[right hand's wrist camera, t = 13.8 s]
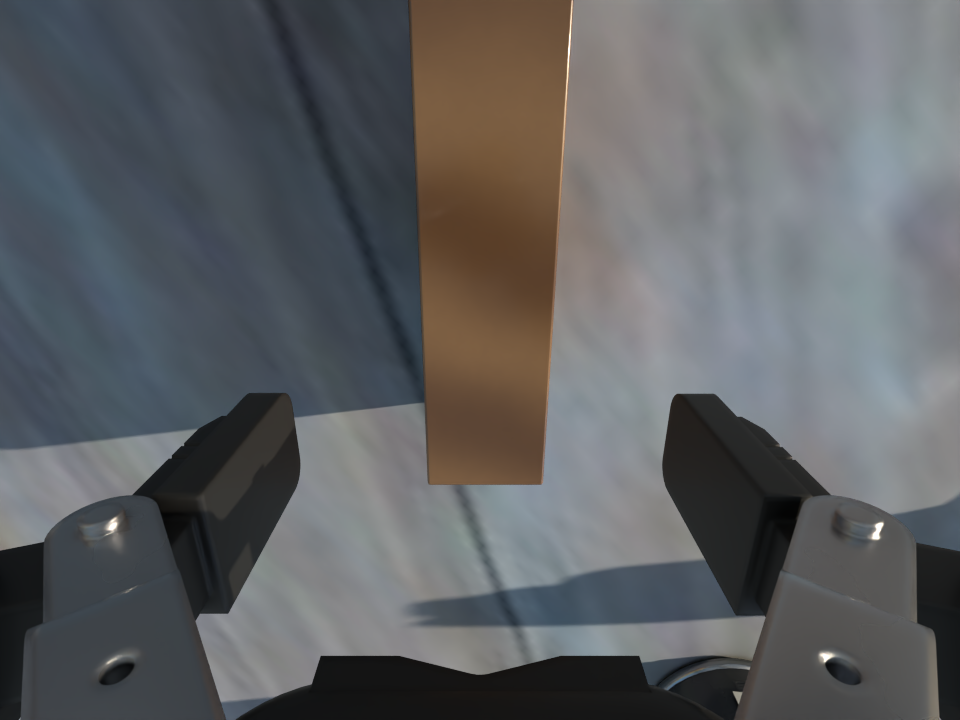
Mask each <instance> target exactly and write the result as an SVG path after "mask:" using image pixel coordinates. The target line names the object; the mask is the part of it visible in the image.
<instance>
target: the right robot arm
mask: <svg viewBox="0 0 960 720" xmlns="http://www.w3.org/2000/svg"><path fill="white" fill-rule="evenodd" d="M662 469H663V478H664V482H665V486H666V488H667V490H668V492H669V494H670V496H671V498H672V500H673V501H674V503H675V505H676V507H677V509H678V511H679V512H680V514H681V516H682V518H683V520H684V521H685V523H686V525H687V527H688V529H689V531H690V532H691V534H692V536H693V538H694V540H695V542H696V543H697V545H698V547H699V549H700V551H701V553H702V554H703V556H704V558H705V560H706V562H707V563H708V565H709V567H710V569H711V571H712V573H713V574H714V576H715V578H716V580H717V582H718V584H719V585H720V587H721V589H722V591H723V593H724V595H725V596H726V598H727V600H728V602H729V604H730V605H731V607H732V609H733V611H734V613H735V615H765V617H766V619H765V622H764V625H763V628H762V631H761V635H760V638H759V641H758V644H757V647H756V651H755V654H754V657H753V660H752V661H748V660H743V659H736V658H720V659H711V660H706V661H701V662H698V663H694V664H692V665H689V666H686V667H684V668H682V669H680V670H678V671H676V672H675V673H673V674H671V675H670V676H669V677H667V678H666V679H665V680H664V681H663V682H661V683H660V684H659V686H658V687H656V686H652V685H649V684H648V683H647V679H646V676H645V673H644V670H643V667H642V663H641V660H640V657H639V656H559V657H555V658H551V659H547V660H543V661H539V662H535V663H531V664H527V665H523V666H519V667H515V668H510V669H506V670H502V671H498V672H494V673H490V674H485V675H475V674H470V673H466V672H462V671H458V670H454V669H450V668H445V667H441V666H437V665H433V664H429V663H425V662H421V661H417V660H413V659H409V658H405V657H401V656H321V657H320V660H319V663H318V667H317V670H316V673H315V676H314V679H313V683H312V684H311V685H308V686H304V687H300V688H298V689H295V690H292V691H289V692H287V693H284V694H281V695H279V696H277V697H275V698H273V699H271V700H268V701H266V702H264V703H262V704H260V705H259V706H257V707H255V708H253V709H252V710H250V711H248V712H247V713H245V714H243V715H242V716H240V717H239V718H237V719H236V720H939V717H940V718H941V720H960V551H955V550H950V549H945V548H940V547H934V546H929V545H924V544H919V543H916V541H915V538H914V536H913V534H912V533H911V532H910V530H909V529H908V528H907V527H906V526H905V525H904V524H903V523H902V522H900V521H899V520H898V519H896V518H895V517H893V516H892V515H890V514H888V513H887V512H885V511H883V510H881V509H879V508H877V507H875V506H872V505H870V504H867V503H864V502H862V501H858V500H855V499H851V498H846V497H841V496H833V495H830V494H829V493H828V492H827V491H826V490H825V489H824V488H823V487H822V486H821V485H820V484H819V483H818V482H817V481H816V480H815V479H814V478H813V477H812V476H811V475H810V474H809V473H808V472H807V471H806V470H805V469H804V468H803V467H802V466H801V465H800V464H799V463H798V462H797V461H796V460H792V456H791V455H790V454H789V453H788V452H787V451H786V450H785V449H784V448H783V447H780V446H779V443H778V442H777V441H776V440H775V439H774V438H773V437H772V436H771V435H770V434H769V433H768V432H767V431H766V430H765V429H763V428H761V427H759V426H757V425H755V424H754V423H752V422H750V421H748V420H746V419H745V418H743V417H737V416H736V415H735V414H734V413H733V412H732V411H731V410H730V409H729V408H728V407H727V406H726V405H725V404H724V403H723V402H722V401H721V400H720V398H719V397H718V396H716V395H715V394H676V395H675V396H674V398H673V400H672V403H671V407H670V414H669V421H668V427H667V434H666V441H665V447H664V454H663V463H662ZM299 475H300V455H299V448H298V441H297V434H296V428H295V421H294V414H293V407H292V402H291V399H290V397H289V395H288V394H286V393H249V394H247V395H246V396H245V397H244V398H243V399H242V400H241V401H240V402H239V403H238V404H237V405H236V406H235V407H234V408H233V410H232V411H231V412H230V413H229V414H228V415H227V416H221V417H219V418H217V419H215V420H214V421H212V422H210V423H208V424H206V425H205V426H203V427H201V428H199V429H198V430H197V431H196V432H195V433H194V434H193V435H192V436H191V437H190V438H189V439H188V440H187V441H186V442H185V443H184V446H181V447H180V448H179V449H178V450H177V451H176V452H175V453H174V454H173V455H172V459H168V460H167V461H166V462H165V463H164V464H163V465H162V466H161V467H160V468H159V469H158V470H157V471H156V472H155V473H154V474H153V475H152V476H151V477H150V478H149V479H148V480H147V481H146V482H145V483H144V484H143V485H142V486H141V487H140V488H139V489H138V490H137V491H136V492H135V493H134V494H133V495H127V496H119V497H114V498H109V499H105V500H102V501H98V502H96V503H93V504H90V505H88V506H85V507H83V508H81V509H79V510H77V511H75V512H73V513H72V514H70V515H68V516H67V517H65V518H64V519H62V520H61V521H60V522H58V523H57V524H56V525H55V526H54V527H53V528H52V529H51V530H50V532H49V533H48V534H47V536H46V538H45V541H44V542H42V543H37V544H32V545H27V546H22V547H17V548H12V549H6V550H1V551H0V720H19V718H20V717H21V720H226V718H225V715H224V711H223V708H222V705H221V702H220V699H219V695H218V692H217V689H216V686H215V683H214V679H213V676H212V673H211V670H210V667H209V663H208V660H207V657H206V654H205V651H204V647H203V644H202V641H201V638H200V635H199V631H198V628H197V625H196V622H195V621H196V619H197V617H198V616H199V614H228V613H229V611H230V609H231V607H232V606H233V604H234V602H235V600H236V598H237V596H238V594H239V593H240V591H241V589H242V587H243V585H244V583H245V582H246V580H247V578H248V576H249V574H250V572H251V570H252V569H253V567H254V565H255V563H256V561H257V559H258V557H259V556H260V554H261V552H262V550H263V548H264V546H265V545H266V543H267V541H268V539H269V537H270V535H271V533H272V532H273V530H274V528H275V526H276V524H277V522H278V521H279V519H280V517H281V515H282V513H283V511H284V509H285V508H286V506H287V504H288V502H289V500H290V498H291V497H292V495H293V493H294V491H295V489H296V487H297V484H298V480H299Z"/></svg>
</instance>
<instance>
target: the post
mask: <svg viewBox="0 0 960 720" xmlns="http://www.w3.org/2000/svg"><path fill="white" fill-rule="evenodd" d="M573 1H574V0H408V6H409V30H410V55H411V80H412V104H413V129H414V154H415V179H416V203H417V228H418V253H419V278H420V302H421V327H422V352H423V376H424V401H425V426H426V451H427V475H428V484H430V485H541V484H542V483H543V472H544V456H545V440H546V425H547V409H548V393H549V378H550V362H551V346H552V331H553V315H554V299H555V283H556V268H557V252H558V236H559V221H560V205H561V189H562V174H563V158H564V142H565V126H566V111H567V95H568V79H569V64H570V48H571V32H572V17H573Z"/></svg>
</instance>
